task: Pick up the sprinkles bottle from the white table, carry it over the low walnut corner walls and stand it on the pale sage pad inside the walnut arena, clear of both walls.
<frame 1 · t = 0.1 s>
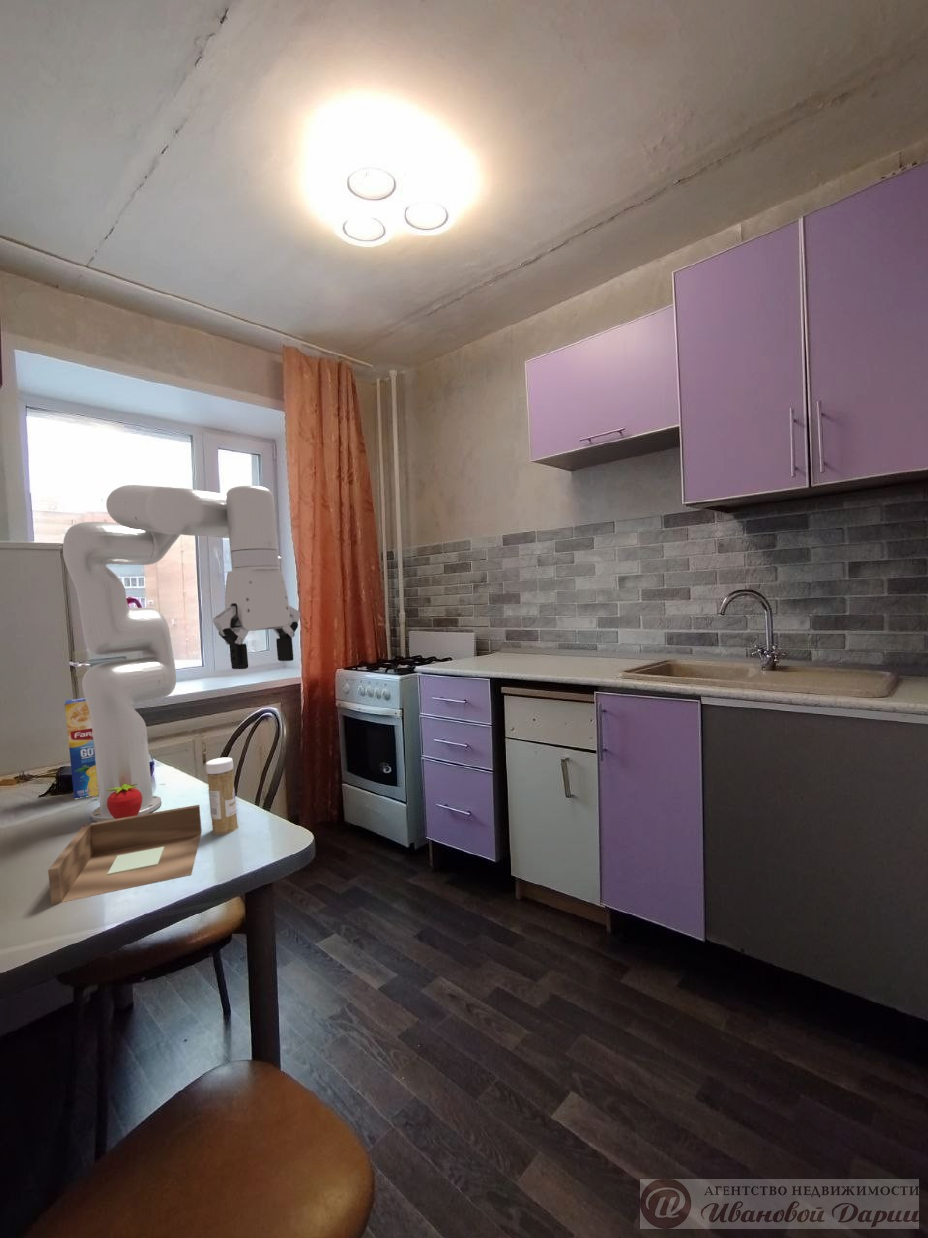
hand: (263, 664, 95), 31 cm above the table, tool pointing down, fingers open, 9 cm apart
walnut arena: (136, 867, 92), on the table
sage pad: (137, 860, 93), resting on walnut arena
sprinkles bottle: (225, 833, 104), on the table
beverage box: (102, 791, 134), on the table
strawberry: (127, 829, 109), on the table
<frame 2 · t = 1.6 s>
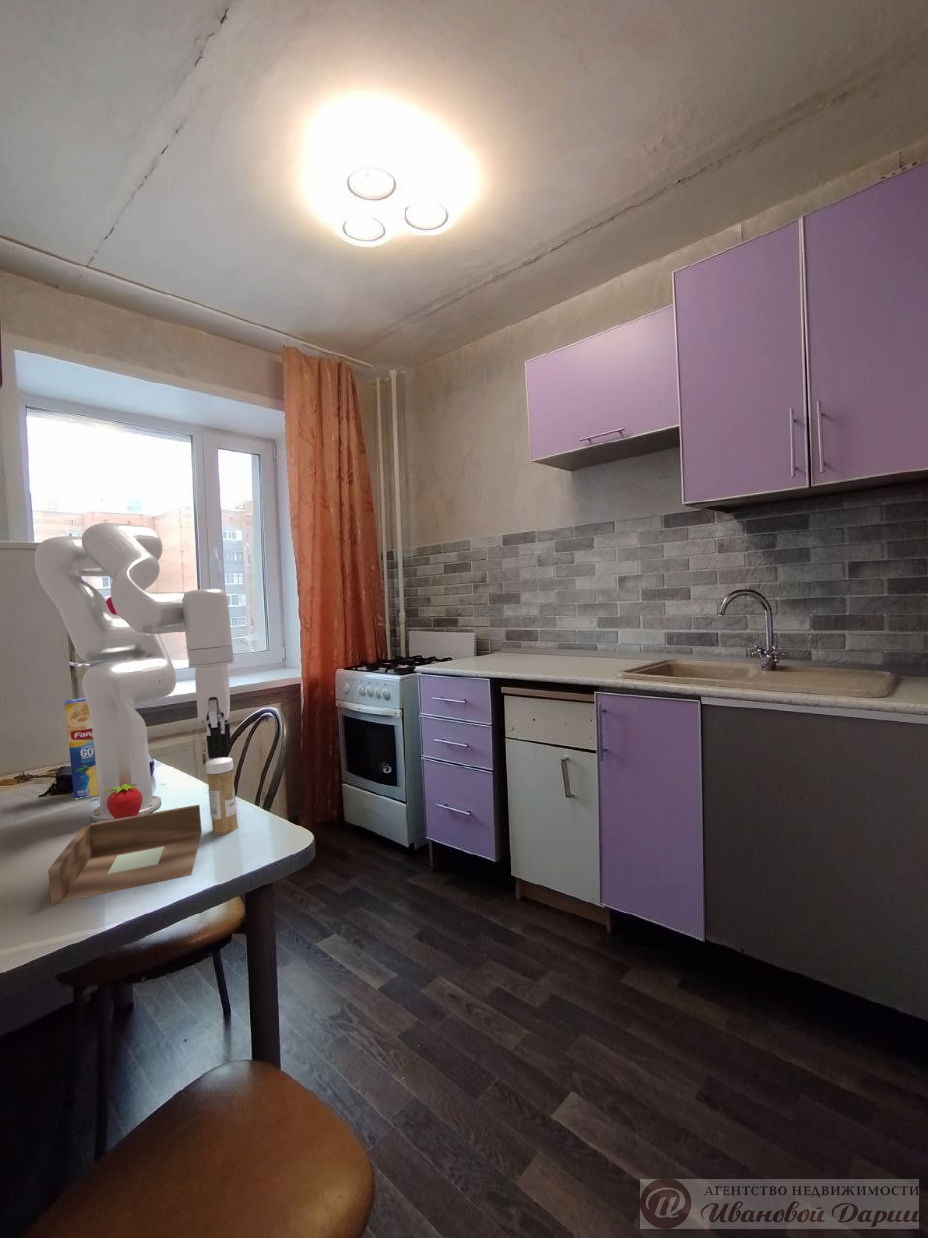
hand: (220, 751, 103), 15 cm above the table, tool pointing down, fingers open, 9 cm apart
nothing on the table moved.
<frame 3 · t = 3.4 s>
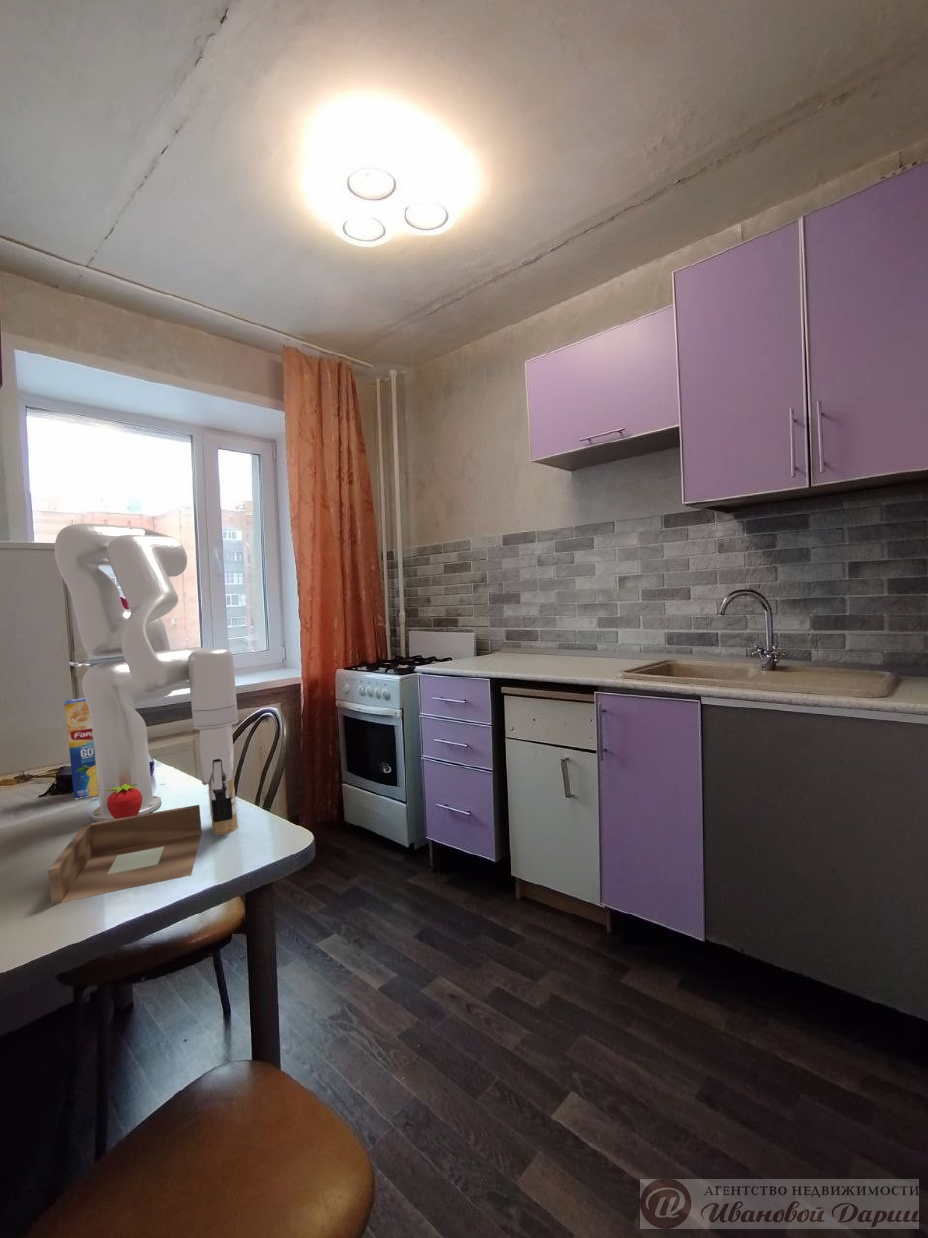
hand: (223, 814, 104), 3 cm above the table, tool pointing down, fingers closed on sprinkles bottle, 4 cm apart
sprinkles bottle: (225, 833, 104), on the table, touching gripper
everything else where it was.
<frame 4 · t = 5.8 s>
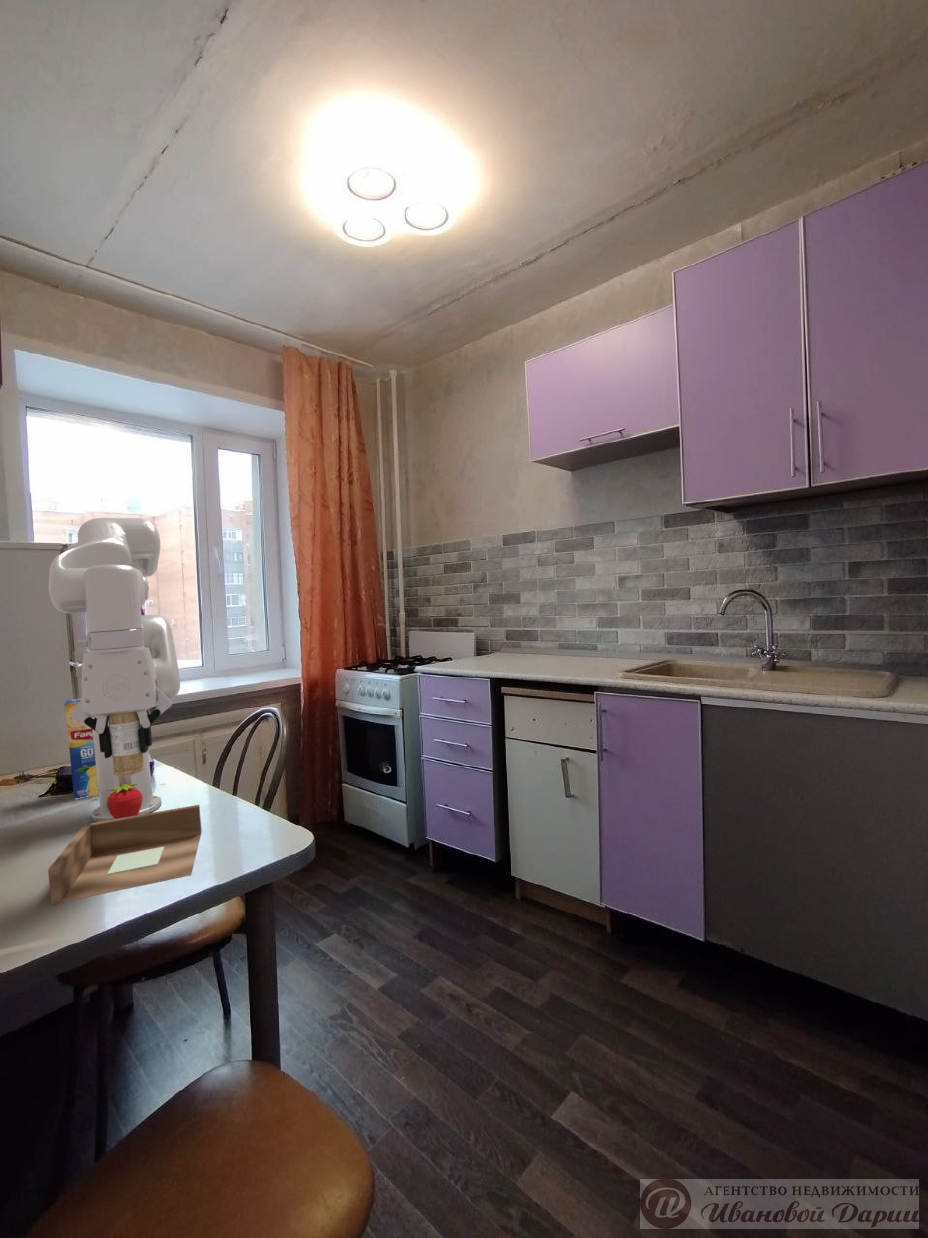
hand: (127, 752, 92), 19 cm above the table, tool pointing down, fingers closed on sprinkles bottle, 4 cm apart
sprinkles bottle: (129, 774, 92), point 15 cm above the table, touching gripper
everything else where it was.
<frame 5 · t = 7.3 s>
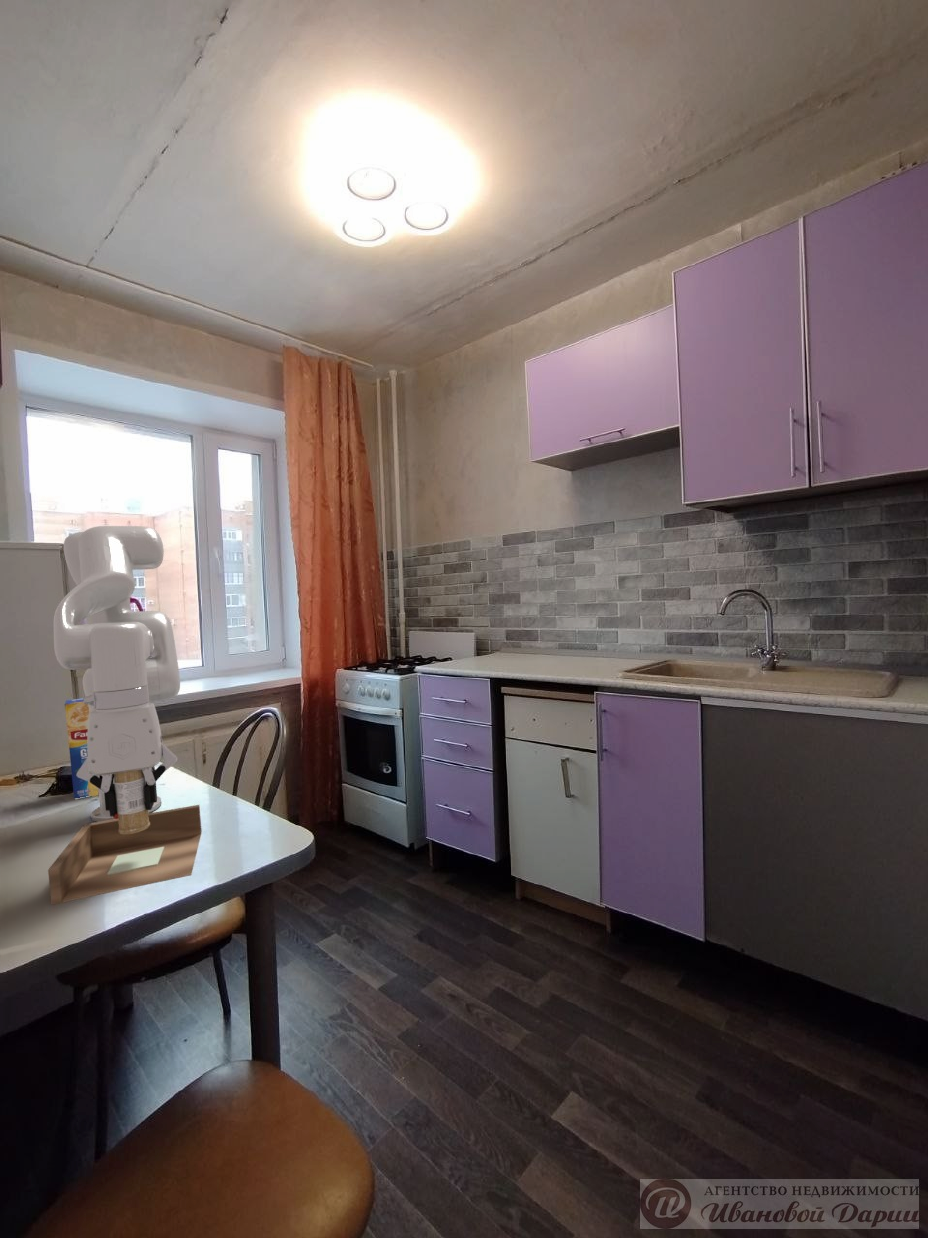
hand: (132, 809, 92), 9 cm above the table, tool pointing down, fingers closed on sprinkles bottle, 4 cm apart
sprinkles bottle: (134, 831, 92), point 6 cm above the table, touching gripper
everything else where it was.
when the fingers open (5 cm above the table, at t = 8.5 s): sprinkles bottle stays where it is, resting on sage pad.
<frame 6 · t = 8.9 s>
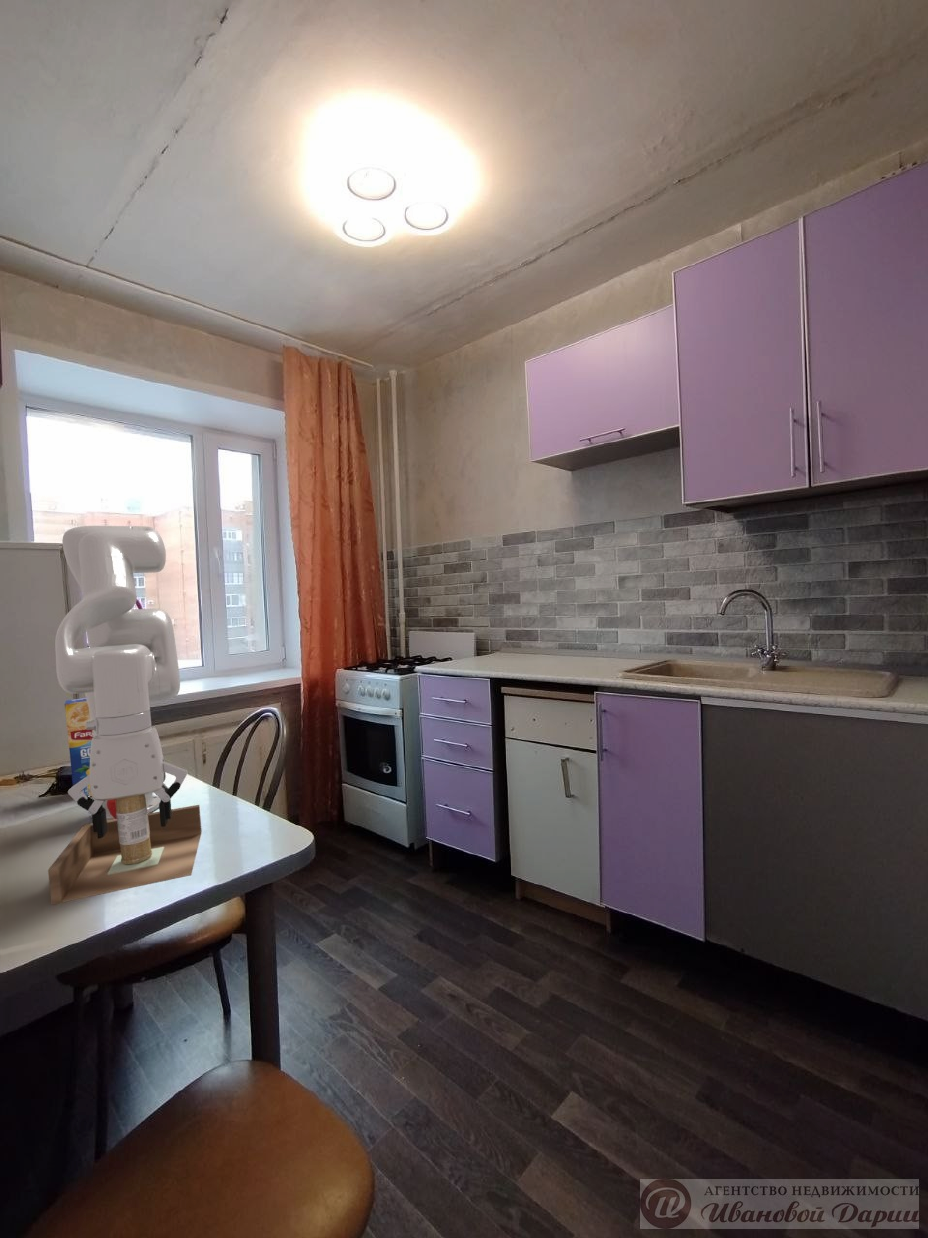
hand: (134, 829, 93), 6 cm above the table, tool pointing down, fingers open, 8 cm apart
sprinkles bottle: (136, 860, 93), point 1 cm above the table, touching sage pad
everything else where it was.
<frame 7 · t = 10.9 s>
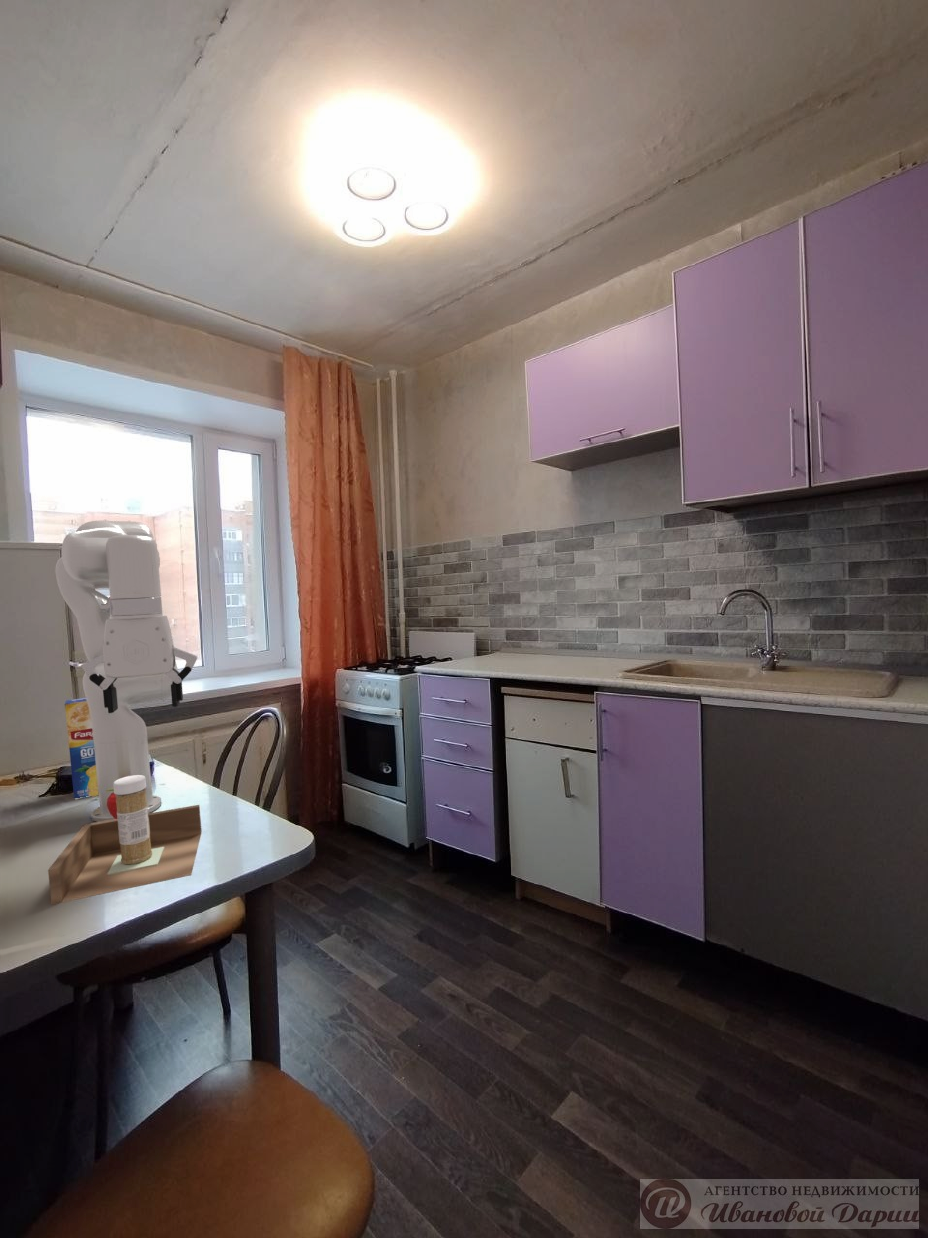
hand: (145, 708, 97), 25 cm above the table, tool pointing down, fingers open, 9 cm apart
nothing on the table moved.
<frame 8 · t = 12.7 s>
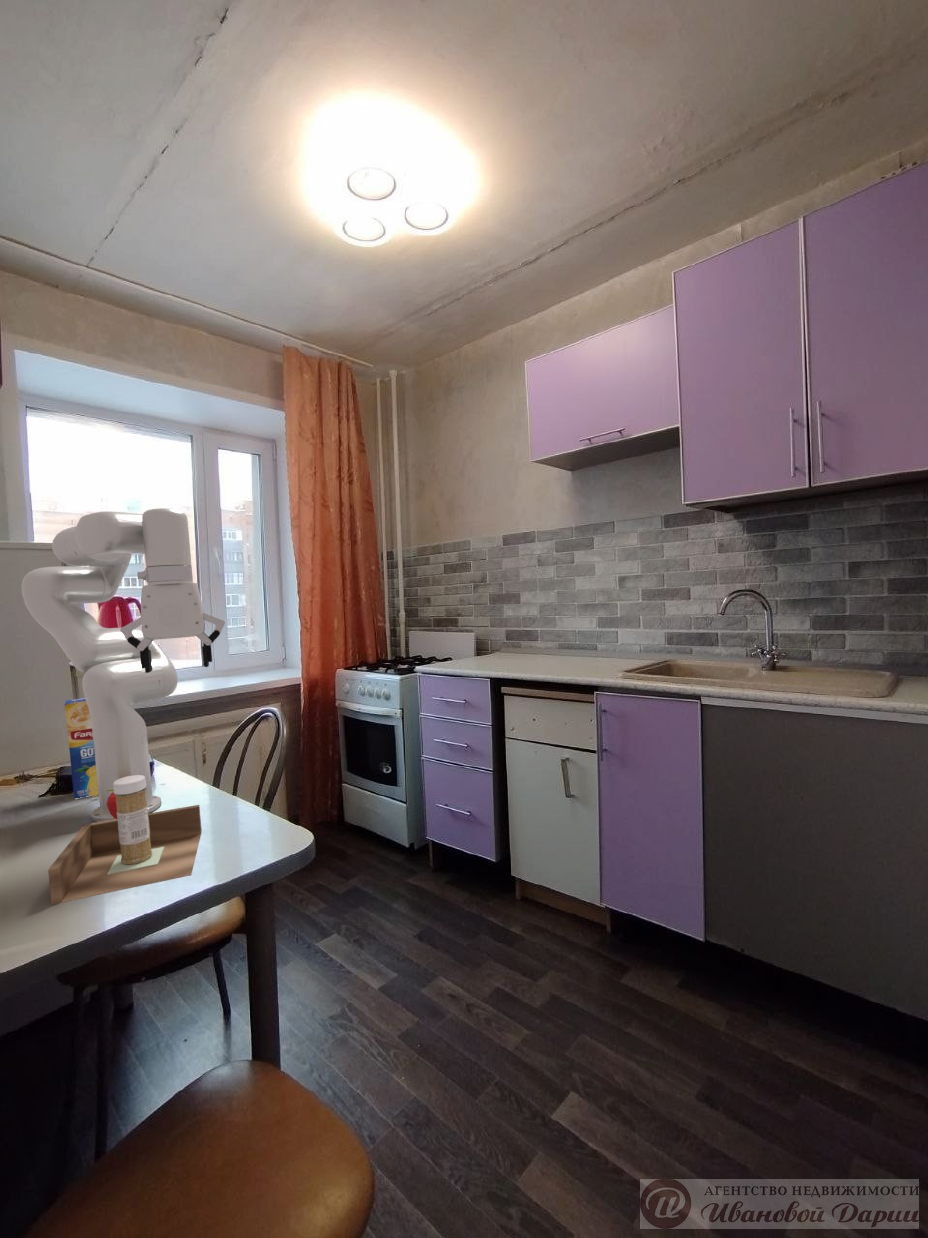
hand: (178, 669, 105), 30 cm above the table, tool pointing down, fingers open, 9 cm apart
nothing on the table moved.
at the end: sprinkles bottle 0.2 cm from the sage pad (horizontally); sprinkles bottle tilted 0°; the gripper is holding nothing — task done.
